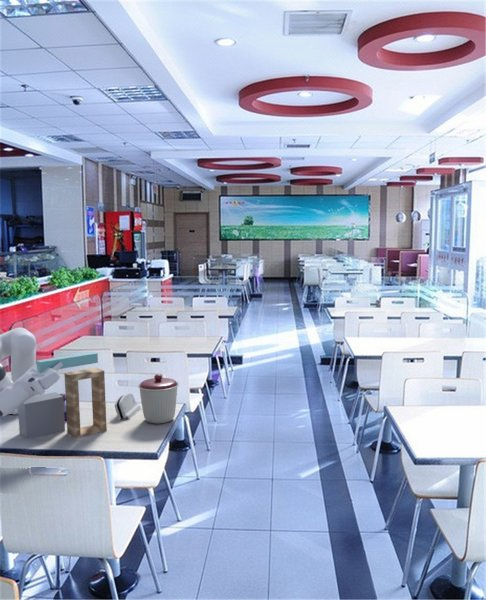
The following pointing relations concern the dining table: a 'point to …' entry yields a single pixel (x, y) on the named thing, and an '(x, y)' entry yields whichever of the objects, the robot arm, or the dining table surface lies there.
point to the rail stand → (97, 402)
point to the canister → (158, 399)
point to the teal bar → (68, 361)
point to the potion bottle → (64, 406)
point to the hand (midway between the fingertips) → (59, 362)
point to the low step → (41, 415)
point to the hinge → (126, 406)
